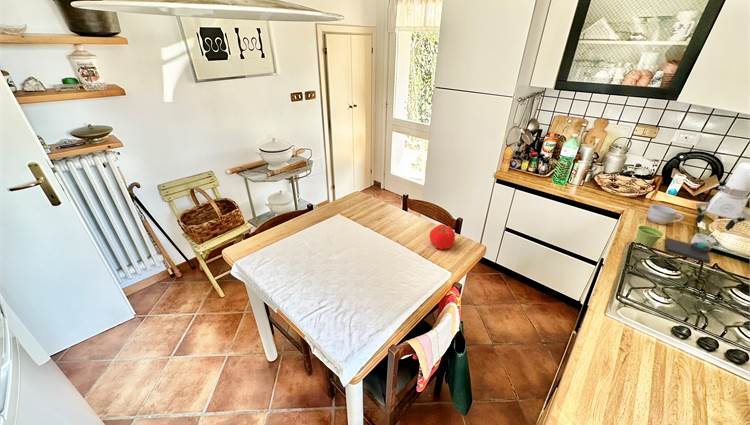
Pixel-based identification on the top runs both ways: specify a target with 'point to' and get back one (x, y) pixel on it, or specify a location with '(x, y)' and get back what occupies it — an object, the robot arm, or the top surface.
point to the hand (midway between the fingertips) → (712, 225)
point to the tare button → (702, 245)
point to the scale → (687, 250)
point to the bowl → (703, 239)
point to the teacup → (662, 214)
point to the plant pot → (648, 235)
